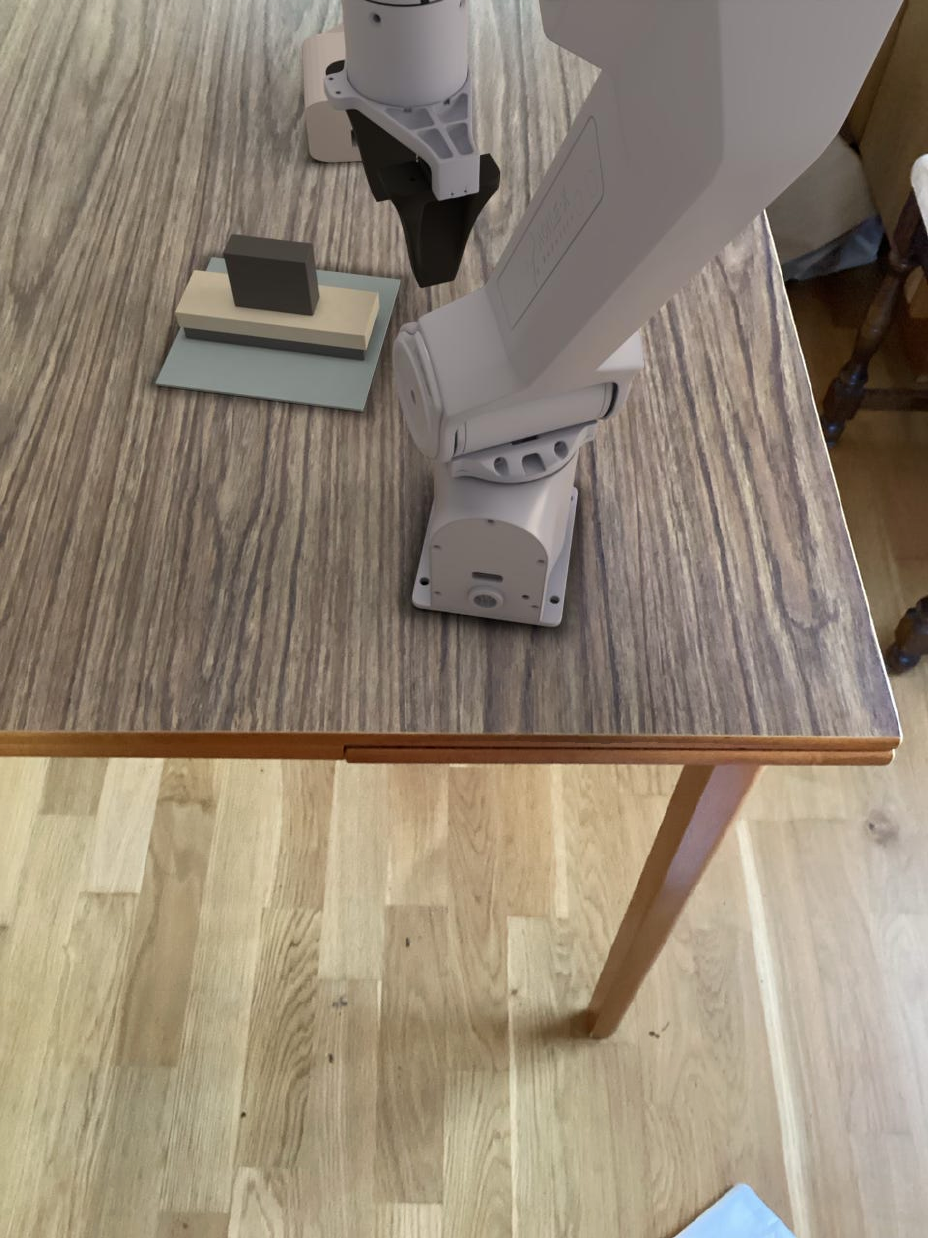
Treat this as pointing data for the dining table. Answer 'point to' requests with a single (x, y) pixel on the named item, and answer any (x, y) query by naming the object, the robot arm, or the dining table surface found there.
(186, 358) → the mat
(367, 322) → the brush
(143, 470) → the dining table surface
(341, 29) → the charger
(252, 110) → the dining table surface
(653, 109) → the robot arm
